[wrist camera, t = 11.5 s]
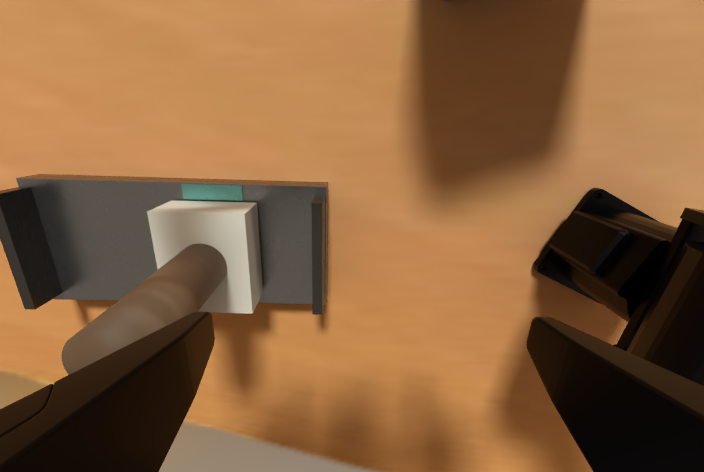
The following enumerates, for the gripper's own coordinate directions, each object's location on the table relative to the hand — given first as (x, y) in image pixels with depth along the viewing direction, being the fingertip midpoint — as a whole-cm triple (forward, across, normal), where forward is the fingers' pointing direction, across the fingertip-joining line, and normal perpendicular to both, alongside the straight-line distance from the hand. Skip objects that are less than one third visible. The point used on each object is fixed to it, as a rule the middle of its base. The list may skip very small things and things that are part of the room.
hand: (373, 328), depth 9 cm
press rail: (+13, +11, +2) cm, 17 cm away
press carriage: (+11, +9, +2) cm, 14 cm away
